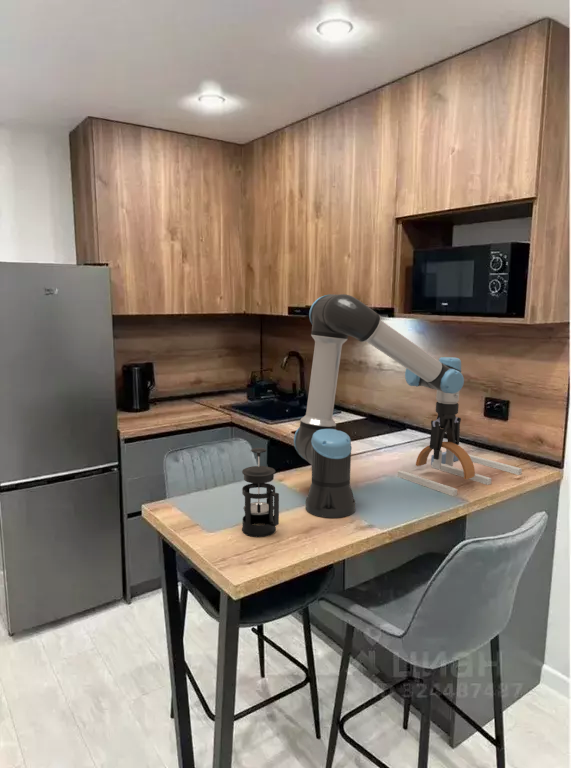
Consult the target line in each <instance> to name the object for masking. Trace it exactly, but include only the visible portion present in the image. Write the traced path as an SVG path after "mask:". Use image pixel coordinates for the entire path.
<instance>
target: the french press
mask: <svg viewBox="0 0 571 768" xmlns="http://www.w3.org/2000/svg"><path fill="white" fill-rule="evenodd" d="M250 451H251V452H252V453H254V454H256V456H257V465H255V466H253V465H252V466H248V467H246V468H243V469H242V471H241V473H242V475H243V480H244V481H245V482H247V483H248V484H246V485H245V484H244V486H242V489H241V491H242V492H241V493H242V495H243V496H244V506H243V511H244V515H243V516H242V527H241V532H242V534H244V535H245V536H247V537H251V538H266V537H270V536H272V535H274V534H275V533H276V530H277V526H279V524H280V523H279V522H280V511H279V510H280V494H279V493H278V492H276V486H275V485H273V484H271V483H270V482H273V480H274V476H275V473H276V469H275V468H273V467H270V466H267V465H266V466H264V465H260V457H261V454H262V453H266V452H267V449H265V448H264V447H256V448H252V449H251V450H250ZM255 488H257V491H258V492H257V493H251V492H250V490H251V489H255ZM260 488H261V489H262V488H263V489H266V493H265V492H264V493H260ZM252 499H255V500H258V501H257V502H256V501H255V502H252ZM262 499H264V500H265V499H266V502H262V501H260V500H262Z"/></svg>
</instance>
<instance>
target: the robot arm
mask: <svg viewBox="0 0 571 768" xmlns="http://www.w3.org/2000/svg"><path fill="white" fill-rule="evenodd" d="M308 317H309V322H310V323H311V325H312V326H311V333H310V336H311V337H312V339H313V340H314V349H313V350H314V351H313V357H312V364H311V373H310V380H309V388H308V396H307V404H306V412H305V415H304V416H302V417H301V418H300V424H299V426H298V428H297V429H296V431H295V433H294V436H293V445H294V449H295V450H296V453H297V454H298V455H299V456H300V457H301V458H302V459H303V460H304V461H306V462H308V463H309V465H311V483H310V487H309V490H308V494H307V497H306V498H305V510H306V511H307V512H308V514H309V513H310V514H311V515H313V516H317V517H321V518H326V519H327V518H328V519H335V518H336V519H337V518H343V517H344V518H345V517H349V516H350V515H352V514H354V513H355V511H356V500H355V497H354V494H353V491H352V490H353V489H352V487H351V466H352V464H351V463H352V459H351V458H352V451H353V450H352V440H351V437H350V436H349V434H348V433H346V432H344V431H342V430H338V429H336V428H337V423H336V422H335V420H334V418H333V414H334V408H335V400H336V392H337V385H338V377H339V370H340V363H341V357H342V356H341V355H342V350H343V349H342V348H343V345H344V344H345V343H346V342H347V341H348V338H349V337H352V338H354V339H356V340H357V341H359V342H360V343H366V342H367V343H368V344H369V345H371V346H372V347H374V348H376V349H377V350H378V351H379V352H381V353H383V354H384V355H386V356H387V357H388V358H391V359H392V360H393V361H395V362H396V363H397V364H399V365H401V366H402V367H404V369H405V372H404V373H405V374H404V378H405V382H406V383H407V385H408V386H410V387H425V388H428V389H432V390H436V395H435V396H436V397H435V400H436V402H435V413H436V414H437V417H436V419H435V420H431V421H430V426H431V428H430V439H429V445H430V448H431V449H433V450H432V451H433V455H434V456H433V458H434V464H433V467H434V468H433V469H435V468H437V469H436V470H438V469H441V461H442V452H443V451H442V447H441V446H442V442H444V438H445V435H446V439H447V442H452V443H455V444H457V445H459V446H460V431H461V430H460V427H461V421H462V417H458V416H456V415H457V414H459V405H460V404H459V403H458V402H459V401H460V391H461V390H462V388H463V387H464V383H465V378H464V375H463V373H462V361H461V359H460V358H458V357H452V356H451V357H450V356H443V357H439V358H438V359H437V358H436V357H434V356H433V355H431V354H430V353H428V352H427V351H425V350H424V348H421V347H420V346H418V345H417V344H416V343H414V342H412V341H411V340H410V339H408V338H407V337H405V336H404V335H403V334H401V333H399V332H398V331H397V330H395V329H394V328H393V327H391V326H390V325H388V324H387V323H386V322H384V321H382V318H381V315H380V314H379V313H378V312H376V311H374V310H373V309H372V308H370V307H369V306H368V305H367V304H365V303H364V302H362V301H361V300H359V298H356V297H354V296H353V295H350V294H345V293H343V294H342V293H341V294H326V295H323V296H320V297H318V298H317V299H316V300H315V301H313V303H312V304H311V306H310V309H309V313H308ZM445 449H446V448H445ZM445 452H446V463H445V464H446V465H449V466H452V467H454V462H453V459H454V453H452V452H451V451H450V450H448V449H446V450H445Z"/></svg>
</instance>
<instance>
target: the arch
mask: <svg viewBox="0 0 571 768" xmlns="http://www.w3.org/2000/svg"><path fill="white" fill-rule="evenodd" d="M441 448H443V449H448V450H450V451H451V452H452V453H454V454H455V456H456V457H457V458H458V459H459V460H458V461H459V462H460V465H461V467H462V470H463V471H464V477H463V479H464V480H470V479H469V478H472V477H475V472H476V470H475V466H474V462H472V460H471V458H470V456H469V455H470V454H469V453H468V452H467V451H466V450H465V449H464V448H463V447H462V446H461V445H460V444H459V445H457V444H455V443H452V442H448V441H443V442H442V446H441ZM432 451H434V450H433V449H431V448H430V444H429V445H427V446H425V447H424V448H422V450H421V451H420V452H419V454H418V456H417V458H416V461H415V466H416V467H421V466H423V465H426V464H427V461H428V458H429V455H430V453H431V452H432ZM468 454H469V455H468Z"/></svg>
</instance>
